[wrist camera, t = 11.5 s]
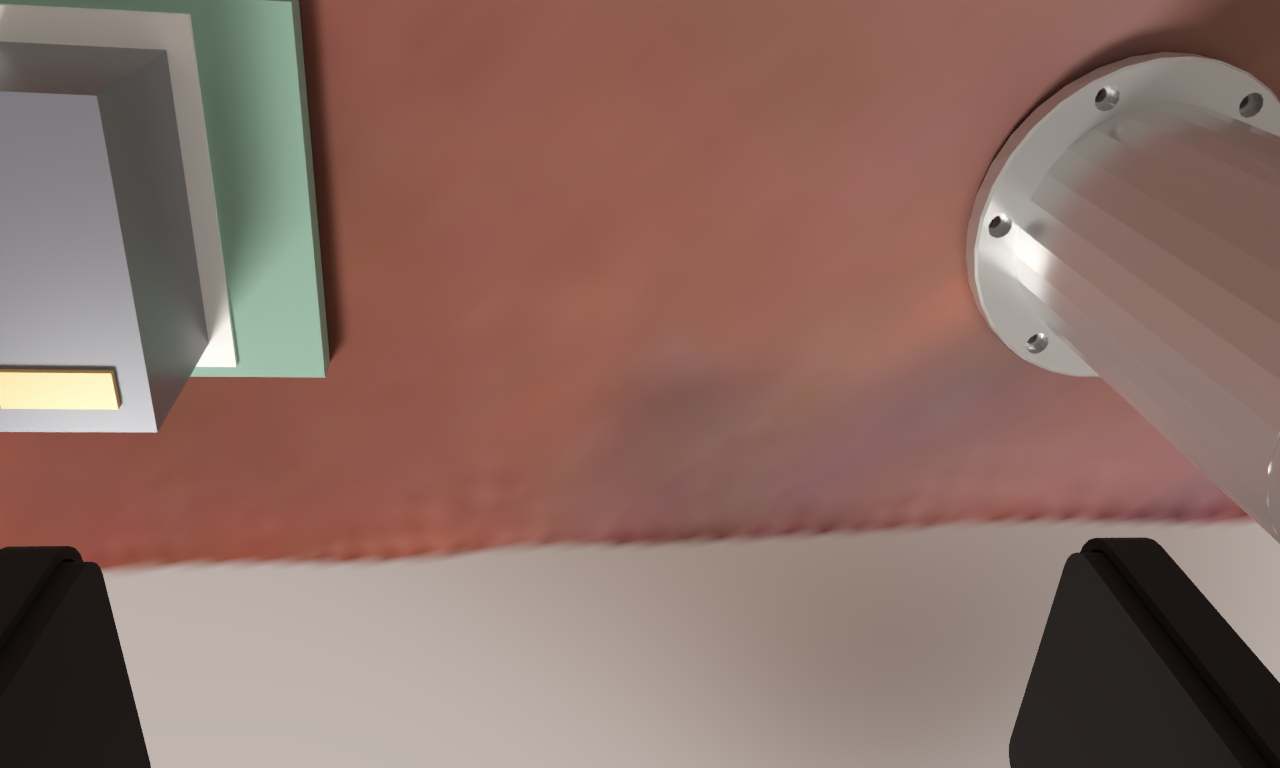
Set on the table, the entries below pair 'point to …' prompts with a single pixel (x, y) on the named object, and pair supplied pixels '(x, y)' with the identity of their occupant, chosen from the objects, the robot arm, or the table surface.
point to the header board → (227, 163)
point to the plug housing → (93, 242)
